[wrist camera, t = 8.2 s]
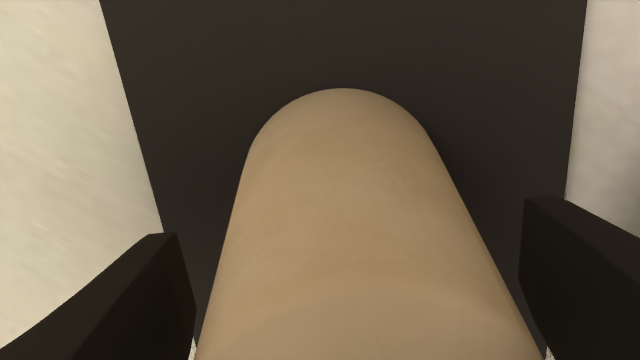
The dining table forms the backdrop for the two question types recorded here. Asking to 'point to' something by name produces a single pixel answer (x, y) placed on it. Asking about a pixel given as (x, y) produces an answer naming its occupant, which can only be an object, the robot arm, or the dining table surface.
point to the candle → (355, 247)
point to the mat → (355, 73)
